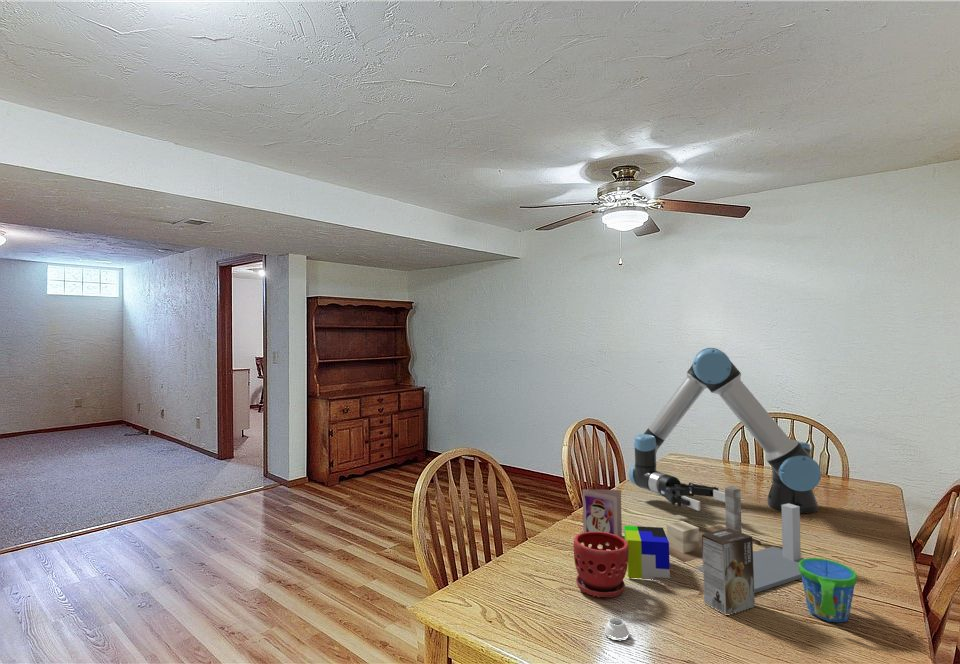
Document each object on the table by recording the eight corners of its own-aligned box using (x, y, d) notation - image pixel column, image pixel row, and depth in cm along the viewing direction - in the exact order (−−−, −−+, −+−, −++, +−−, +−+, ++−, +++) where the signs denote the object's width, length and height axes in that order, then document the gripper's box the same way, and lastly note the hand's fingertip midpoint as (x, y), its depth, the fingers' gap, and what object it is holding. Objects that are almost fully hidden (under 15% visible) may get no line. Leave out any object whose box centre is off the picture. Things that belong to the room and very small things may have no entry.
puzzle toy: (669, 582, 126) (669, 542, 126) (628, 579, 128) (627, 540, 128) (663, 564, 136) (662, 527, 136) (625, 562, 138) (624, 525, 138)
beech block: (682, 541, 148) (682, 520, 148) (699, 549, 142) (698, 527, 142) (667, 545, 145) (666, 524, 145) (683, 553, 140) (682, 531, 140)
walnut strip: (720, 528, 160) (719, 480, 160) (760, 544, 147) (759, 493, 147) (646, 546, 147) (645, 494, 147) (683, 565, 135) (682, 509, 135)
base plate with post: (773, 549, 143) (772, 497, 143) (824, 570, 130) (823, 512, 131) (695, 571, 131) (694, 514, 131) (743, 597, 118) (742, 532, 118)
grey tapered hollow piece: (605, 626, 108) (602, 640, 103) (605, 613, 108) (602, 625, 103) (630, 631, 106) (628, 645, 101) (629, 617, 106) (627, 630, 101)
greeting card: (582, 539, 153) (580, 490, 154) (594, 532, 159) (593, 484, 159) (616, 549, 146) (615, 497, 146) (628, 541, 151) (627, 491, 151)
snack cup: (855, 640, 101) (854, 589, 101) (793, 622, 108) (792, 574, 108) (860, 607, 113) (859, 562, 113) (805, 592, 120) (803, 549, 120)
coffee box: (731, 594, 120) (729, 526, 120) (755, 607, 114) (753, 536, 114) (702, 603, 116) (701, 533, 116) (726, 617, 110) (724, 543, 110)
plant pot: (620, 608, 115) (619, 555, 115) (566, 593, 122) (565, 543, 122) (635, 583, 126) (634, 535, 126) (585, 571, 133) (584, 526, 133)
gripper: (691, 490, 182) (743, 508, 162) (637, 501, 172) (685, 521, 152) (691, 469, 182) (743, 485, 162) (637, 479, 172) (685, 496, 152)
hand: (715, 502), depth 157 cm, fingers open, 13 cm apart
